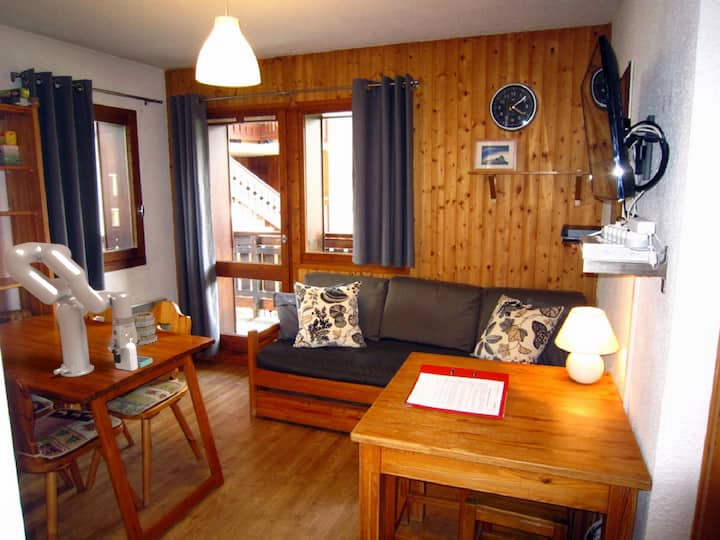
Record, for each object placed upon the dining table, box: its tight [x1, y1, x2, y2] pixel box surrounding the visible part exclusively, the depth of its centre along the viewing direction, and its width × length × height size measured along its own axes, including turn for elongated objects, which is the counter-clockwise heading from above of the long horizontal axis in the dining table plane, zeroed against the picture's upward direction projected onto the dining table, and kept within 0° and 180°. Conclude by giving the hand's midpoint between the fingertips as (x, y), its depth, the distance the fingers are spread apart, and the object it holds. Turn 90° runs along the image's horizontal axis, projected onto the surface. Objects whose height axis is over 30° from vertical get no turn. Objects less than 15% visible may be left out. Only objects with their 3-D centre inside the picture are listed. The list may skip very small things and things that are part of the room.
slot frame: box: [137, 355, 153, 369], centre depth 228 cm, size 7×13×2 cm, turn 70°
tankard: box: [132, 311, 159, 346], centre depth 255 cm, size 20×13×15 cm, turn 152°
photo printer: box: [114, 342, 139, 372], centre depth 220 cm, size 10×4×12 cm, turn 66°
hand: (126, 359), depth 221 cm, fingers open, 9 cm apart
